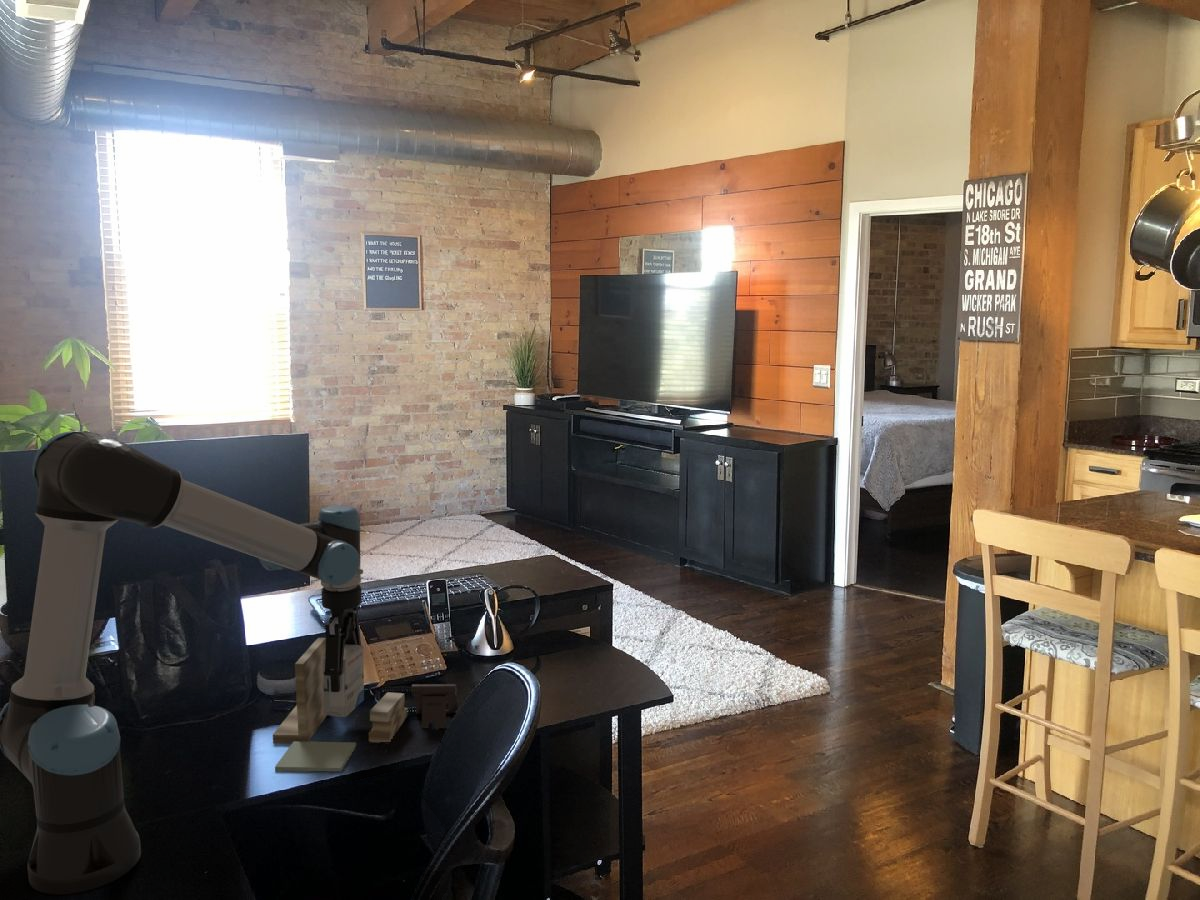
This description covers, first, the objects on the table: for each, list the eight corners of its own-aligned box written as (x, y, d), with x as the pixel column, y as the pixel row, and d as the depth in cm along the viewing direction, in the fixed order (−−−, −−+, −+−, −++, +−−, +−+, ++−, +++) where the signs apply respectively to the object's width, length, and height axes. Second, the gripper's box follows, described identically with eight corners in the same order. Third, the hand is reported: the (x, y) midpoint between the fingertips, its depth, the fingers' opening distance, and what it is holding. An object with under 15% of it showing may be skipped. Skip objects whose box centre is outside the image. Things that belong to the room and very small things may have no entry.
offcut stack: (390, 743, 188) (389, 714, 187) (368, 742, 189) (367, 713, 188) (408, 717, 200) (407, 689, 199) (387, 716, 200) (386, 688, 199)
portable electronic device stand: (460, 711, 202) (459, 673, 201) (456, 728, 194) (455, 688, 193) (417, 712, 202) (416, 673, 201) (411, 729, 194) (410, 689, 193)
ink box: (343, 698, 198) (341, 642, 197) (366, 700, 197) (364, 644, 196) (323, 715, 190) (321, 657, 188) (347, 718, 189) (345, 660, 187)
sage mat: (340, 772, 177) (340, 767, 177) (275, 770, 177) (274, 766, 177) (356, 746, 187) (356, 742, 186) (293, 745, 187) (293, 741, 187)
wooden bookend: (307, 743, 188) (303, 663, 185) (273, 742, 188) (268, 663, 186) (329, 711, 202) (325, 637, 199) (297, 711, 202) (293, 637, 199)
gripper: (344, 603, 179) (347, 719, 182) (375, 570, 200) (377, 675, 204) (303, 602, 179) (307, 718, 183) (338, 569, 201) (342, 674, 204)
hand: (344, 695), depth 193 cm, fingers closed on ink box, 9 cm apart
